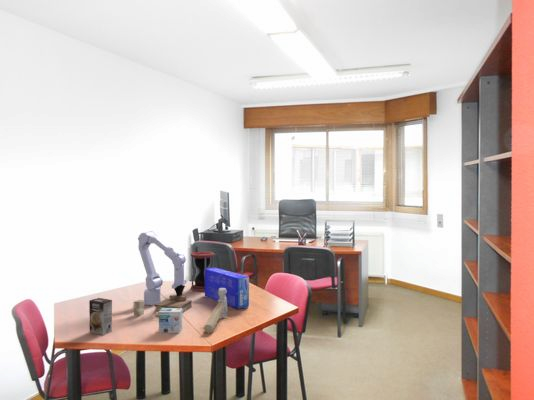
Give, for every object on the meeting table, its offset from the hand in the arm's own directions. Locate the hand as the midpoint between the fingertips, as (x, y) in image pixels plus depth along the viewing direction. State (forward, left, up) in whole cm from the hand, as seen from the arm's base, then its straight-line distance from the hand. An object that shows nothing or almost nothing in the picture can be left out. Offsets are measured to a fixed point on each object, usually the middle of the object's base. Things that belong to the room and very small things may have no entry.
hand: (179, 297), depth 264 cm
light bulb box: (+17, -41, -5) cm, 44 cm away
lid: (0, -7, -2) cm, 8 cm away
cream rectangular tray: (0, -10, -5) cm, 11 cm away
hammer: (+35, -24, -5) cm, 43 cm away
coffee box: (-15, -53, -5) cm, 55 cm away
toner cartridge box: (+23, +18, -5) cm, 30 cm away
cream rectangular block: (-13, -23, -5) cm, 27 cm away
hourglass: (-5, +43, -5) cm, 44 cm away
